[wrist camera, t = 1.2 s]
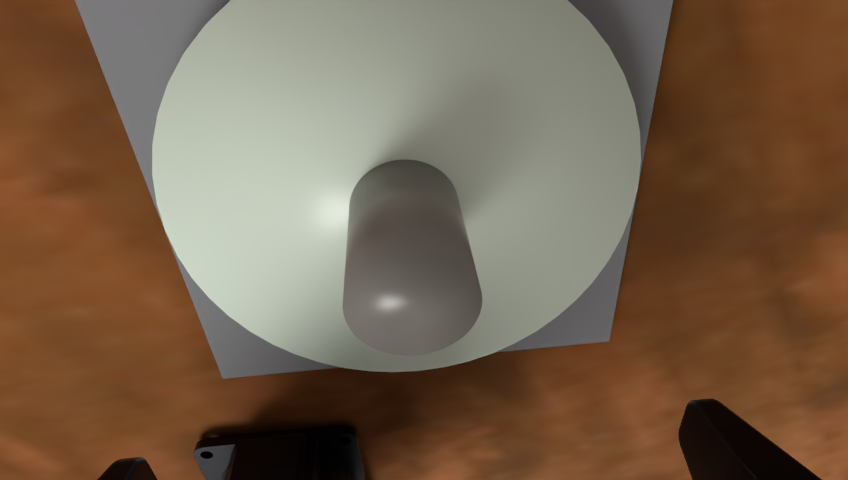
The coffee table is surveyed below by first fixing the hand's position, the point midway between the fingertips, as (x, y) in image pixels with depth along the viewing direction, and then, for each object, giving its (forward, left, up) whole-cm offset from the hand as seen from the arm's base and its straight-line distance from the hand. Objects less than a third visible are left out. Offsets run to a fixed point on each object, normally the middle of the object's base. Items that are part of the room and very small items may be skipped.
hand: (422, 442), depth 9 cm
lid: (0, 0, -8) cm, 8 cm away
